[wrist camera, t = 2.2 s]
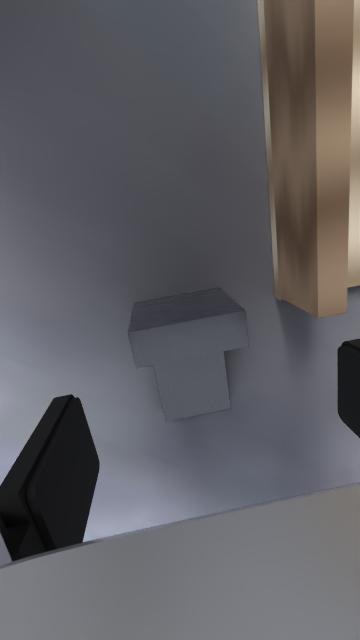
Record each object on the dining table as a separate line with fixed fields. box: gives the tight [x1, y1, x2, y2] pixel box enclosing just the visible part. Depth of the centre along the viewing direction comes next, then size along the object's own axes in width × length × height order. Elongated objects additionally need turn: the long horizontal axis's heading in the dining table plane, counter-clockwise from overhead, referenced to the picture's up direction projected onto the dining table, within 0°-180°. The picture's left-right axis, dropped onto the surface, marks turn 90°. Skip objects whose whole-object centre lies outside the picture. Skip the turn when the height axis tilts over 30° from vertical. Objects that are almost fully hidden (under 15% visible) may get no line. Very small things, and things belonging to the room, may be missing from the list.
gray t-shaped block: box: [128, 288, 249, 421], centre depth 19 cm, size 9×6×6 cm, turn 9°
